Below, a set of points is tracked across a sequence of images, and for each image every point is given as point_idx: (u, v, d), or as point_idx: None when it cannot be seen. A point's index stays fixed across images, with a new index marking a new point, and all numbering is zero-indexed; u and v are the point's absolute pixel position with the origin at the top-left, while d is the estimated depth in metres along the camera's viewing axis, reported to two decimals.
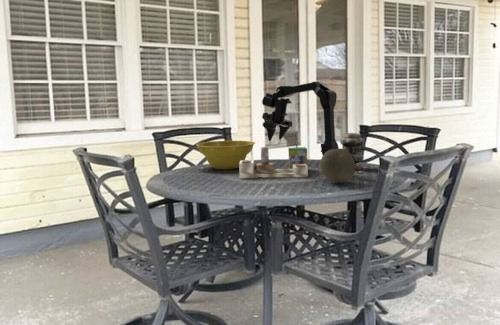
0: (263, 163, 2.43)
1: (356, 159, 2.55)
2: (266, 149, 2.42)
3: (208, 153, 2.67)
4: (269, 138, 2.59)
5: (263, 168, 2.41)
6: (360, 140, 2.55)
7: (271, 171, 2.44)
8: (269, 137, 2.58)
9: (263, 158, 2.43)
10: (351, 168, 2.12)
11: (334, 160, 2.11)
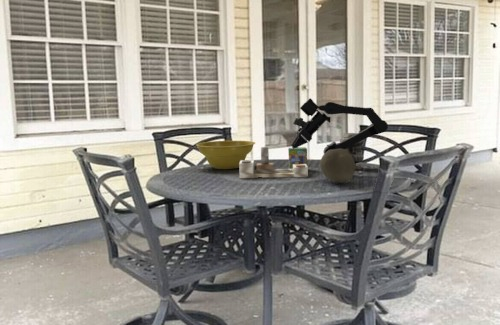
0: (263, 163, 2.43)
1: (356, 159, 2.55)
2: (266, 149, 2.42)
3: (208, 153, 2.67)
4: (294, 146, 2.38)
5: (263, 168, 2.41)
6: None
7: (271, 171, 2.44)
8: (295, 145, 2.38)
9: (263, 158, 2.43)
10: (351, 168, 2.12)
11: (334, 160, 2.11)
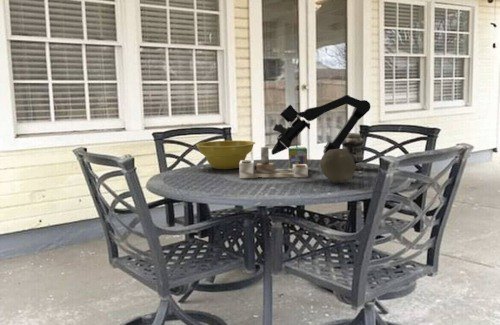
0: (263, 163, 2.43)
1: (356, 159, 2.55)
2: (266, 149, 2.42)
3: (208, 153, 2.67)
4: (274, 152, 2.39)
5: (263, 168, 2.41)
6: (360, 140, 2.55)
7: (271, 171, 2.44)
8: (274, 151, 2.38)
9: (263, 158, 2.43)
10: (351, 168, 2.12)
11: (334, 160, 2.11)
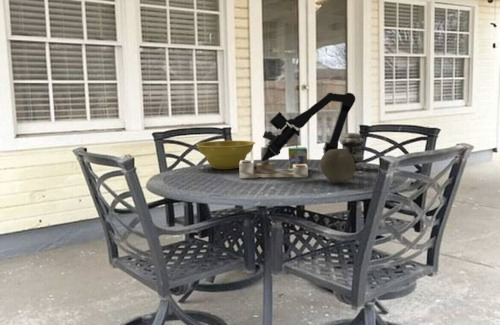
0: (263, 163, 2.43)
1: (356, 159, 2.55)
2: (266, 149, 2.42)
3: (208, 153, 2.67)
4: (263, 159, 2.42)
5: (263, 168, 2.41)
6: (360, 140, 2.55)
7: (271, 171, 2.44)
8: (264, 158, 2.41)
9: None
10: (351, 168, 2.12)
11: (334, 160, 2.11)
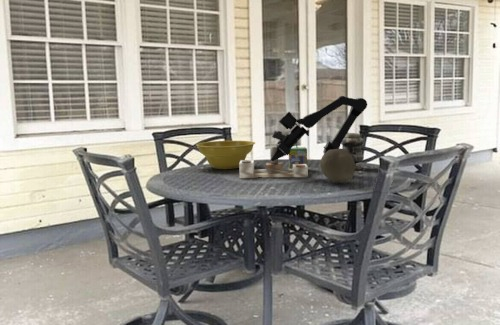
0: (272, 163, 2.43)
1: (356, 159, 2.55)
2: (275, 149, 2.42)
3: (208, 153, 2.67)
4: (273, 159, 2.42)
5: (272, 168, 2.41)
6: (360, 140, 2.55)
7: (271, 171, 2.44)
8: (274, 158, 2.41)
9: None
10: (351, 168, 2.12)
11: (334, 160, 2.11)
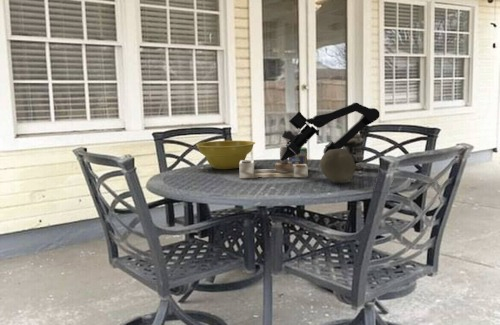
0: (282, 163, 2.42)
1: (356, 159, 2.55)
2: (285, 149, 2.42)
3: (208, 153, 2.67)
4: (283, 159, 2.41)
5: (282, 168, 2.40)
6: (360, 140, 2.55)
7: (271, 171, 2.44)
8: (284, 157, 2.41)
9: None
10: (351, 168, 2.12)
11: (334, 160, 2.11)
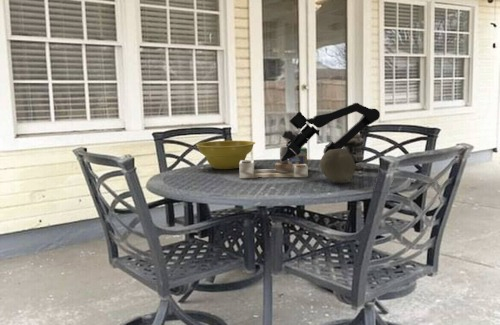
0: (282, 163, 2.42)
1: (356, 159, 2.55)
2: (285, 149, 2.42)
3: (208, 153, 2.67)
4: (283, 159, 2.39)
5: (282, 168, 2.40)
6: (360, 140, 2.55)
7: (271, 171, 2.44)
8: (284, 158, 2.38)
9: None
10: (351, 168, 2.12)
11: (334, 160, 2.11)
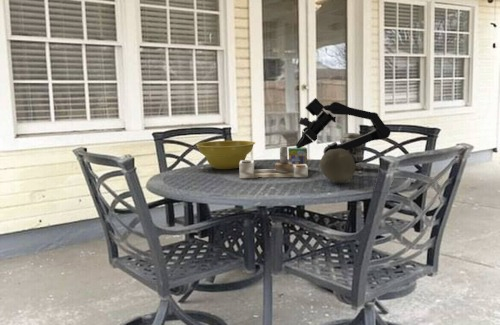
0: (282, 163, 2.42)
1: (356, 159, 2.55)
2: (285, 149, 2.42)
3: (208, 153, 2.67)
4: (299, 146, 2.38)
5: (282, 168, 2.40)
6: None
7: (271, 171, 2.44)
8: (300, 145, 2.37)
9: (282, 158, 2.42)
10: (351, 168, 2.12)
11: (334, 160, 2.11)
